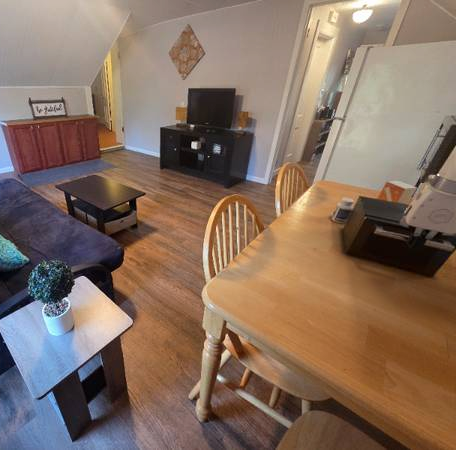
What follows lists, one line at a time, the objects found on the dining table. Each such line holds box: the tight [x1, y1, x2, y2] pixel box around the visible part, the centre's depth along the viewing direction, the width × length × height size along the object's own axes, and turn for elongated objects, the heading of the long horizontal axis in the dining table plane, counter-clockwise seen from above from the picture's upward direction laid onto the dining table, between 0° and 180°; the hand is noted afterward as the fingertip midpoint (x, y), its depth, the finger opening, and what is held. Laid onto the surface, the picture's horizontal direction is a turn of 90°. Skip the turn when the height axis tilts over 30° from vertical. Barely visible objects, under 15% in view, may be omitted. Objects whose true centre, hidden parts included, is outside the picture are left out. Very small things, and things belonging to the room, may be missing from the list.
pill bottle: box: [331, 197, 355, 224], centre depth 100 cm, size 5×5×10 cm
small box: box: [376, 180, 418, 205], centre depth 107 cm, size 8×6×13 cm
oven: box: [342, 195, 456, 252], centre depth 82 cm, size 16×22×15 cm
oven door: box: [344, 216, 456, 278], centre depth 74 cm, size 6×22×15 cm, turn 60°
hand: (411, 247), depth 68 cm, fingers closed
